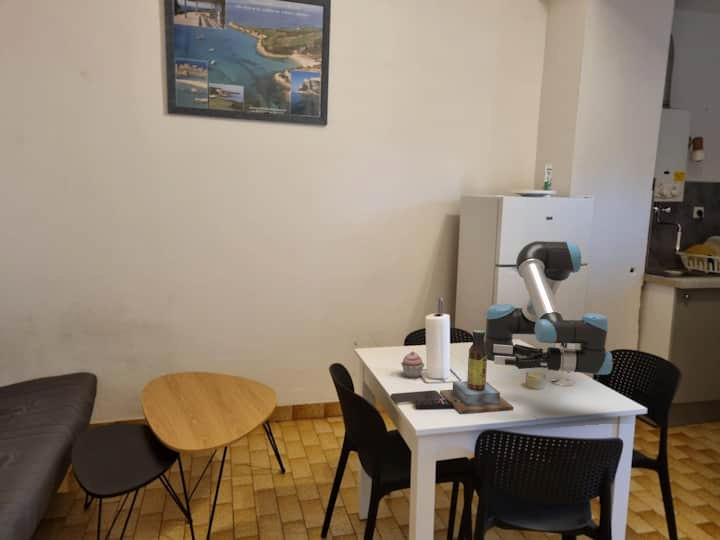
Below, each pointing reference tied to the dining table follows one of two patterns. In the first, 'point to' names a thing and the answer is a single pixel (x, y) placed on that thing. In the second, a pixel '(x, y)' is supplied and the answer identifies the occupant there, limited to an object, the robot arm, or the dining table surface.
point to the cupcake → (412, 365)
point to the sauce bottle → (477, 362)
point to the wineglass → (563, 381)
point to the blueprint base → (475, 408)
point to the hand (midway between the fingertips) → (493, 353)
